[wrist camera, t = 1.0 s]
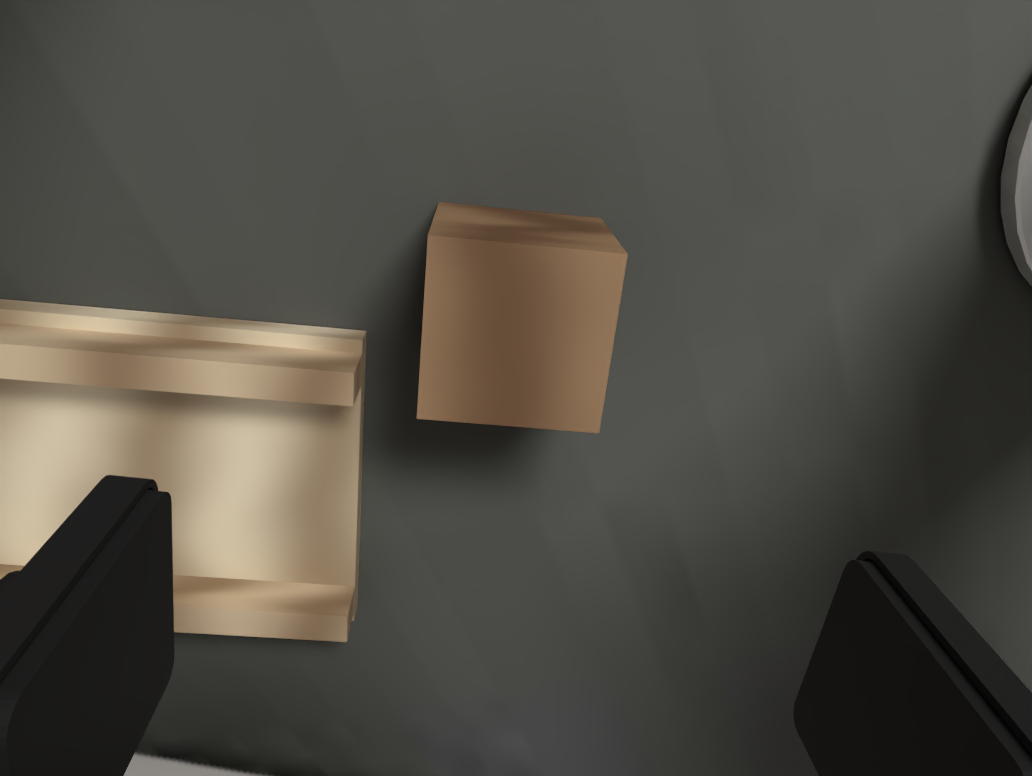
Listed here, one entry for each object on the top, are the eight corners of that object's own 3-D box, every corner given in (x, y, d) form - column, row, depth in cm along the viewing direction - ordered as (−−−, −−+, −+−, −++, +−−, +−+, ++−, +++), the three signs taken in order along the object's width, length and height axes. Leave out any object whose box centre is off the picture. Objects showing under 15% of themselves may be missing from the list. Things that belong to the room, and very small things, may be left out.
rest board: (366, 330, 28) (354, 358, 25) (357, 605, 32) (346, 652, 30) (-47, 295, 27) (-104, 319, 24) (5, 583, 31) (-39, 630, 29)
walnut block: (600, 217, 27) (627, 254, 21) (578, 367, 29) (598, 433, 24) (439, 201, 26) (427, 234, 21) (428, 354, 28) (416, 418, 23)
